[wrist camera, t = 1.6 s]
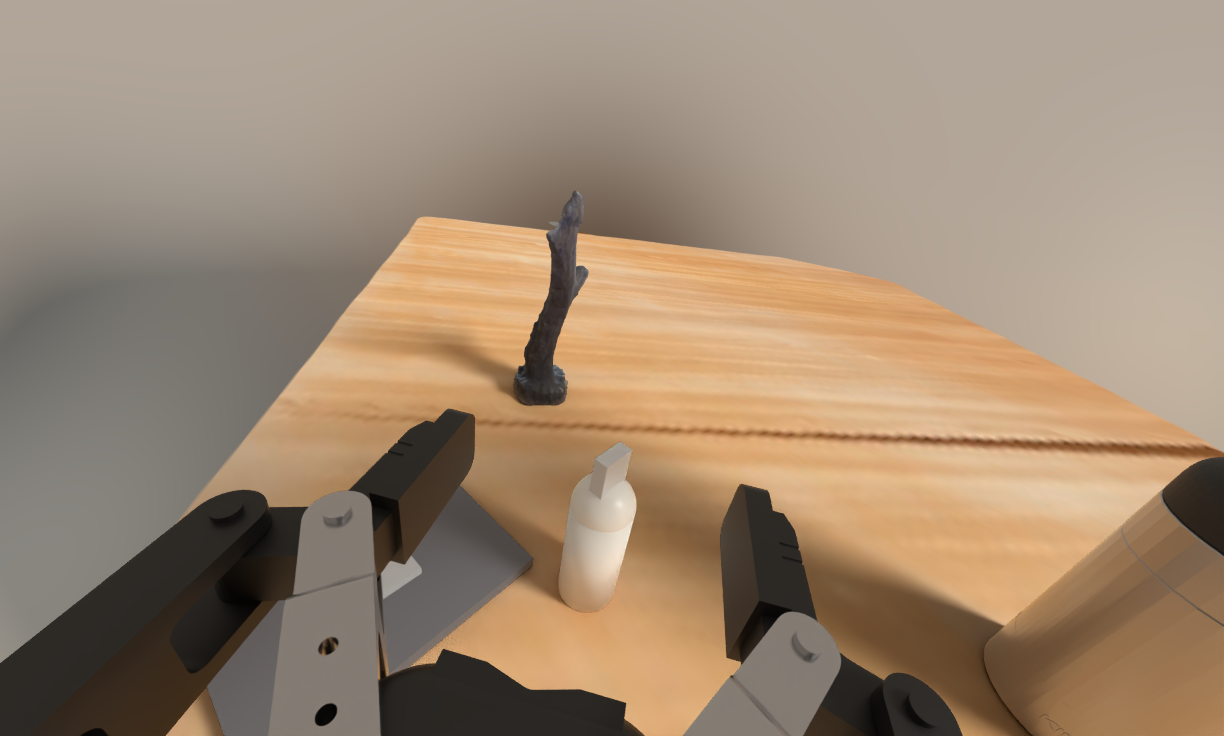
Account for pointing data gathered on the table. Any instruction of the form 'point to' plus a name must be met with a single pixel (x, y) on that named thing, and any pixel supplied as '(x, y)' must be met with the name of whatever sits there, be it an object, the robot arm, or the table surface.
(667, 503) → the table surface
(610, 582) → the white tabbed cylinder
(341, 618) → the robot arm
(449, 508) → the dock mat
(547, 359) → the bare tree trunk
